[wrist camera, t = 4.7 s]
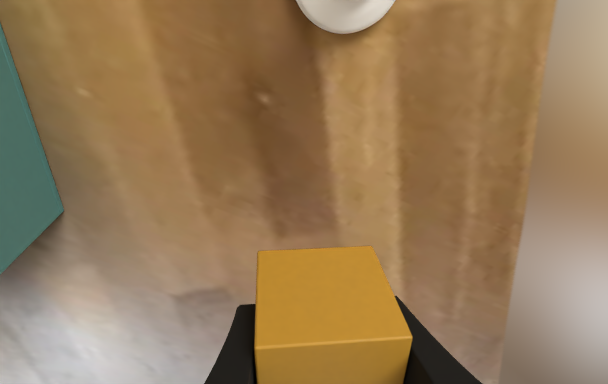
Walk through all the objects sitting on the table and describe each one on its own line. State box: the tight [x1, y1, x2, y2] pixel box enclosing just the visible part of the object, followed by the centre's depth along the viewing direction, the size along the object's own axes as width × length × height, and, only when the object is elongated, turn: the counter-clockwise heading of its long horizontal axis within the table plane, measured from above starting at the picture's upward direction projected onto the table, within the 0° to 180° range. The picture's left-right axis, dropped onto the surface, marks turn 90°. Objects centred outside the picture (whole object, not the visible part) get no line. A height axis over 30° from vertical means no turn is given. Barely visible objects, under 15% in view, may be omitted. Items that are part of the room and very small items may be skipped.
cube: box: [254, 246, 413, 384], centre depth 12 cm, size 4×4×4 cm
